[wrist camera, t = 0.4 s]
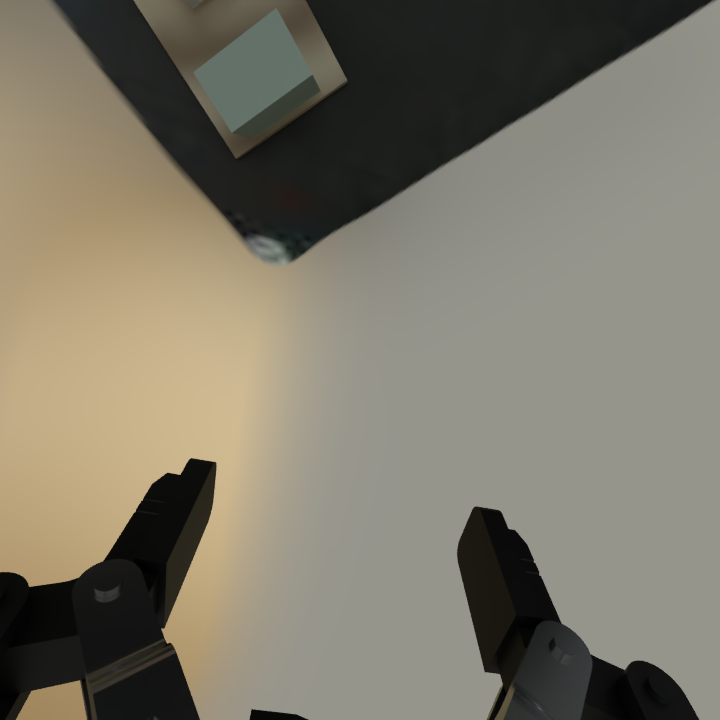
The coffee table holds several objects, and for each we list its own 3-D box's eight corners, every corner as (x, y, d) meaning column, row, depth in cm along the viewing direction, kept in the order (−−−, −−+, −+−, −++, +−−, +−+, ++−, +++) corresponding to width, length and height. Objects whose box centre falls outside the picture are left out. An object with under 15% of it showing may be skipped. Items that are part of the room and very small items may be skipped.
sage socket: (223, 89, 32) (193, 72, 26) (291, 38, 30) (276, 7, 25) (253, 138, 33) (231, 132, 27) (320, 91, 32) (312, 74, 26)
